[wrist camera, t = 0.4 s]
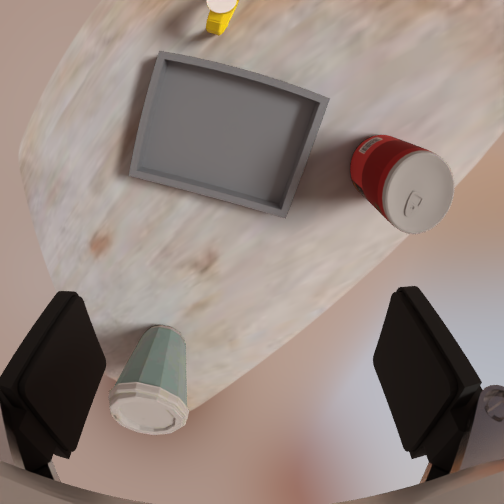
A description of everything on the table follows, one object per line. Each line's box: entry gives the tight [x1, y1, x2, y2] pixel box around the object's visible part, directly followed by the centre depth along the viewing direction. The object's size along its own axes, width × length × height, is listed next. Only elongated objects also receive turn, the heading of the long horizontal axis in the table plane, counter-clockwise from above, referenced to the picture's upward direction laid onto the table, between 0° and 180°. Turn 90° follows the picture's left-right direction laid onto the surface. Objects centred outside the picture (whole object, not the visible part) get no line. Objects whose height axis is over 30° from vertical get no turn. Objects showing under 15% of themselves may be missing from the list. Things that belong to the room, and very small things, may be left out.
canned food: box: [350, 135, 454, 234], centre depth 30 cm, size 8×8×11 cm
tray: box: [129, 51, 330, 218], centre depth 32 cm, size 14×18×2 cm
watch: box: [206, 0, 239, 35], centre depth 24 cm, size 6×3×6 cm, turn 158°
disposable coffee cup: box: [109, 325, 189, 435], centre depth 40 cm, size 11×11×15 cm
